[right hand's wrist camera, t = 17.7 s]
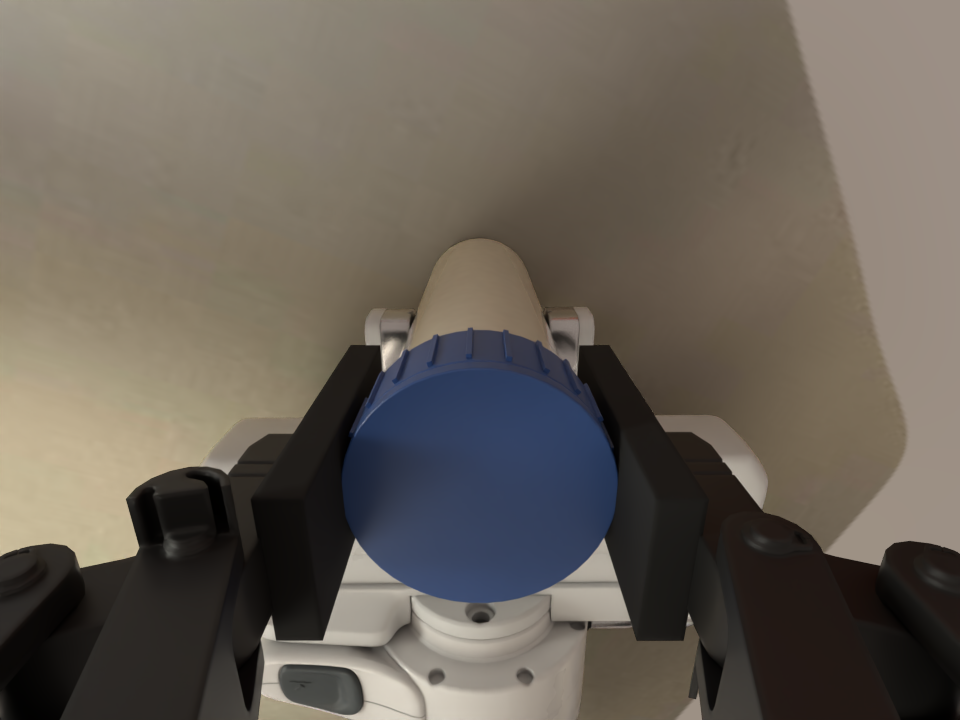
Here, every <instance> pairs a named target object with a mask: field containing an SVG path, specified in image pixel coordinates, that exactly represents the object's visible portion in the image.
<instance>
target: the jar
mask: <svg viewBox="0 0 960 720" xmlns="http://www.w3.org/2000/svg"><path fill="white" fill-rule="evenodd" d="M470 327H473V330H493V331H500V332H503V329H505V330H509V333H510V334H514V335H518V336H521V337H524V338H526V339H529V340H531V341H534V342H536V341H537V340H538V341H540V342H542V345H543V347H545V348H547V349H548V350H550V351H552V352H553V353H554V354H555V355H557V356H558V357H559V358H560V355H559V353H558V350H557V347H556V345H555V342H554V339H553V337H552V334H551V332H550V329H549V326H548V324H547V321H546V319H545V316H544V313H543V311H542V308H541V305H540V303H539V300H538V298H537V295H536V292H535V290H534V287H533V285H532V282H531V279H530V277H529V274H528V272H527V269H526V267H525V265H524V263H523V261H522V260H521V259H520V257H519V256H518V255H517V254H516V253H515V252H514V251H513V250H512V249H510V248H509V247H507V246H506V245H504V244H502V243H500V242H498V241H494V240H491V239H484V238H476V239H469V240H465V241H462V242H460V243H457V244H456V245H454V246H452V247H451V248H449V249H448V250H447V251H446V252H445V253H443V254H442V256H441V257H440V258H439V259H438V261H437V262H436V264H435V266H434V268H433V271H432V273H431V276H430V278H429V281H428V283H427V286H426V289H425V291H424V294H423V296H422V299H421V302H420V304H419V307H418V309H417V312H416V315H415V317H414V320H413V322H412V325H411V328H410V330H409V333H408V335H407V338H406V341H405V343H404V346H403V348H402V351H401V354H400V356H399V358H400V357H401V355H402V352H403V351H404V350H405V349H407V350H408V351H409V350H411V349H412V348H414V347H416V346H418V345H420V344H422V343H423V342H425V341H428V340H430V339H432V338H433V335H435V334H438V335H439V336H441V335H445V334H449V333H453V332H459V331H467V330H468V328H470Z"/></svg>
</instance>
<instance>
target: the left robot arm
mask: <svg viewBox="0 0 960 720" xmlns="http://www.w3.org/2000/svg"><path fill="white" fill-rule="evenodd" d="M544 316H545V319H546V321H547V324H548V326H549V329H550V332H551V334H552V337H553V339H554V342H555V345H556V347H557V350H558V353H559V355H560V358H561V359H562V360H564V359H567V360H568V361H569V363H570V365H571V368H572V370H573V371H574V372H575V374H576V375H577V371H578V356H579V345H594V332H595V326H594V318H593V315H592V313H591V312H590V310H589V309H588V307H545V310H544ZM414 317H415V310H414V309H386V308H377V309H371V311H370V312H369V314H368V315H367V317H366V322H365V341H366V345H380V347H381V361H382V371H383V372H386V371H387V369H388V368H389V367H390V366H391V365H392V364H393V363H394V362H395V361H396V360H398V359H399V356H400V354H401V351H402V348H403V346H404V343H405V341H406V338H407V335H408V333H409V330H410V328H411V325H412V322H413V320H414ZM655 417H656V418H657V420H658V421H659V423H660V424H661V426H662V428H663V429H664V431H665V432H692V433H694V434H695V435H697V436H698V437H700V438H702V439H703V440H705V441H706V442H708V443H709V444H711V445H712V446H713V448H714V449H715V450H716V452H717V453H718V454H719V455H720V457H721V458H722V459H723V460H722V461H723V462H725V463H726V464H727V466H728V467H729V468H730V470H731V471H732V475H735V476H736V477H737V479H738V480H739V481H740V482H741V484H742V485H743V486H744V488H745V489H746V490H747V492H748V493H749V494H750V495H751V497H752V498H753V499H754V501H755V502H756V503H757V504H758V506H759V507H760V508H761V510H762V508H763V504H764V501H765V498H766V493H767V488H768V477H767V473H766V471H765V469H764V467H763V465H762V463H761V462H760V460H759V459H758V457H757V456H756V454H755V453H754V452H753V451H752V449H751V448H750V447H749V446H748V444H747V443H746V442H745V441H744V440H743V439H742V438H741V437H740V436H739V435H738V434H737V433H736V432H735V431H734V430H733V429H732V428H731V427H730V426H729V425H728V424H727V423H726V422H725V421H724V420H722V419H721V418H719V417H717V416H714V415H655ZM302 419H303V418H246V419H242V420H240V421H239V422H237V423H236V424H235V425H234V426H233V427H232V428H231V429H230V430H229V431H228V432H227V433H226V434H225V435H224V436H223V437H222V438H221V439H220V440H219V441H218V442H217V443H216V444H215V445H214V446H213V448H212V449H211V450H210V451H209V453H208V454H207V455H206V456H205V458H204V459H203V461H202V462H201V464H200V465H199V467H204V466H208V467H212V468H217V469H221V470H222V471H223V472H225V473H226V474H227V475H228V473H229V472H230V470H231V469H232V468H233V466H234V465H235V464H237V463H238V462H237V461H238V460H239V459H240V457H241V456H242V455H243V453H244V452H245V451H246V450H247V448H248V447H249V446H250V445H252V444H253V443H255V442H257V441H258V440H260V439H261V438H263V437H264V436H266V435H267V434H293V433H294V432H295V430H296V429H297V427H298V425H299V424H300V422H301V421H302ZM691 625H693V622H692V620H691V617H690V615H689V614H688V619H687V625H686V627H688V626H691ZM631 627H632V624H631V621H630V618H629V615H628V611H627V608H626V605H625V602H624V599H623V596H622V593H621V589H620V586H619V583H618V580H617V577H616V574H615V571H614V567H613V564H612V561H611V558H610V555H609V552H608V548H607V545H606V542H605V539H603V540H602V542H601V543H600V545H599V547H598V548H597V549H596V550H595V552H594V553H593V554H592V555H591V556H590V558H589V559H588V560H587V561H586V562H585V563H584V564H583V565H581V566H580V567H579V568H578V569H577V570H576V571H575V572H573V573H572V574H570V575H569V576H568V577H566V578H565V579H564V580H562V581H560V582H558V583H556V584H555V585H553V586H551V587H549V588H547V589H545V590H542V591H540V592H538V593H535V594H532V595H529V596H526V597H522V598H519V599H514V600H509V601H504V602H493V603H465V602H456V601H450V600H446V599H441V598H437V597H434V596H431V595H428V594H425V593H422V592H419V591H417V590H415V589H413V588H410V587H408V586H406V585H405V584H403V583H401V582H399V581H398V580H396V579H394V578H393V577H392V576H390V575H389V574H388V573H386V572H385V571H384V570H382V569H381V568H380V567H379V566H378V565H377V564H376V563H375V562H374V561H373V560H372V559H371V558H370V557H369V556H368V555H367V554H366V552H365V551H364V550H363V549H362V547H361V546H360V545H359V543H358V541H357V540H356V538H355V541H354V544H353V547H352V551H351V554H350V557H349V560H348V563H347V566H346V569H345V573H344V576H343V579H342V582H341V585H340V588H339V592H338V595H337V598H336V601H335V604H334V607H333V610H332V614H331V617H330V620H329V623H328V626H327V629H326V632H325V636H324V639H323V641H276V638H275V632H274V627H273V621H272V616H271V617H270V619H269V622H268V624H267V626H266V628H265V631H264V633H263V635H262V637H261V643H262V648H263V654H264V661H265V664H264V673H263V681H262V690H261V694H262V695H264V696H266V697H268V698H271V699H274V700H278V701H282V702H286V703H291V704H295V705H300V706H304V707H308V708H312V709H316V710H321V711H324V712H328V713H331V714H335V715H338V716H341V717H345V718H348V719H351V720H577V719H578V715H579V711H580V705H581V697H582V685H583V673H584V661H585V650H586V637H587V631H588V629H589V628H590V629H593V628H594V629H620V628H631Z"/></svg>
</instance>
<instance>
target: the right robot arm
mask: <svg viewBox="0 0 960 720" xmlns="http://www.w3.org/2000/svg"><path fill="white" fill-rule="evenodd" d="M381 371H382V361H381V347H380V345H351V346H350V347H349V349H348V350H347V352H346V353H345V355H344V356H343V358H342V359H341V361H340V362H339V364H338V366H337V367H336V369H335V370H334V372H333V373H332V375H331V376H330V378H329V379H328V381H327V382H326V384H325V386H324V387H323V389H322V390H321V392H320V393H319V395H318V396H317V398H316V399H315V401H314V402H313V404H312V405H311V407H310V409H309V410H308V412H307V413H306V415H305V416H304V418H303V419H302V421H301V422H300V424H299V425H298V427H297V429H296V430H295V432H294V433H293V434H267V435H266V436H264V437H263V438H261V439H260V440H258V441H257V442H255V443H253V444H252V445H250V446H249V447H248V448H247V450H246V451H245V452H244V453H243V455H242V456H241V457H240V459H239V460H238V461H237V462H238V463H237V464H235V465H234V466H233V468H232V469H231V470H230V472H229V473H228V475H227V474H226V473H225V472H223V471H222V470H221V469H217V468H212V467H208V466H204V467H187V468H183V469H178V470H173V471H169V472H167V473H164V474H162V475H159V476H157V477H154V478H151V479H150V480H148V481H147V482H145V483H143V484H142V485H140V486H139V487H137V488H136V489H135V490H134V491H133V492H132V493H131V494H130V495H129V496H128V498H127V499H126V501H127V504H128V508H129V512H130V515H131V519H132V522H133V526H134V529H135V533H136V537H137V540H138V544H139V547H140V548H139V550H138V552H137V555H136V556H133V557H130V558H126V559H122V560H117V561H112V562H108V563H103V564H98V565H93V566H89V567H84V568H80V567H79V564H78V561H77V558H76V555H75V552H73V551H72V550H71V549H70V548H68V547H67V546H65V545H58V544H43V545H36V546H29V547H25V548H21V549H20V550H14V551H11V552H9V553H6V554H4V555H2V556H1V557H0V720H258V715H259V706H260V698H261V690H262V681H263V673H264V664H265V661H264V654H263V648H262V643H261V637H262V635H263V633H264V631H265V628H266V626H267V624H268V622H269V619H270V617H271V616H272V621H273V627H274V632H275V638H276V641H323V639H324V636H325V632H326V629H327V626H328V623H329V620H330V617H331V614H332V610H333V607H334V604H335V601H336V598H337V595H338V592H339V588H340V585H341V582H342V579H343V576H344V573H345V569H346V566H347V563H348V560H349V557H350V554H351V551H352V547H353V544H354V541H355V536H354V535H353V533H352V531H351V529H350V526H349V524H348V522H347V519H346V516H345V508H344V500H343V490H342V479H341V471H342V466H343V461H344V457H345V454H346V451H347V449H348V446H349V444H350V441H351V439H352V438H351V437H348V435H349V432H350V430H351V428H352V426H353V424H354V421H355V419H356V417H357V415H358V413H359V410H360V408H361V406H362V404H363V402H364V400H365V398H369V396H370V393H371V391H372V389H373V387H374V384H375V382H376V380H377V378H378V375H379V373H380V372H381ZM577 376H578V378H579V379H580V381H581V382H582V384H585V383H587V385H588V386H589V388H590V391H591V393H592V395H593V397H594V399H595V402H596V404H597V406H598V408H599V410H600V413H601V415H602V417H603V419H604V420H603V423H604V426H605V428H606V430H607V432H608V435H609V437H610V439H611V441H612V444H613V446H614V452H613V453H614V456H615V459H616V465H617V470H618V486H617V496H616V505H615V513H614V517H613V520H612V523H611V525H610V527H609V529H608V532H607V534H606V536H605V537H604V539H605V542H606V545H607V548H608V552H609V555H610V558H611V561H612V564H613V567H614V571H615V574H616V577H617V580H618V583H619V586H620V589H621V593H622V596H623V599H624V602H625V605H626V608H627V611H628V615H629V618H630V621H631V624H632V627H633V630H634V634H635V637H636V640H637V641H684V636H685V630H686V625H687V619H688V614H689V615H690V617H691V620H692V622H693V624H694V626H695V628H696V631H697V633H698V635H699V637H700V638H699V643H698V648H697V653H696V658H695V663H694V669H693V674H692V679H691V684H690V691H689V698H693V699H696V697H697V692H698V688H699V697H700V705H701V713H702V720H960V554H959V553H958V552H956V551H954V550H951V549H948V548H945V547H941V546H938V545H934V544H929V543H921V542H913V541H906V542H899V543H894V544H893V545H891V546H890V547H889V548H888V549H886V551H885V554H884V557H883V560H882V563H881V566H878V565H873V564H869V563H864V562H859V561H854V560H849V559H844V558H840V557H835V556H832V555H828V554H824V553H823V551H822V549H821V547H820V546H819V545H818V543H817V542H816V541H815V539H814V538H813V537H812V535H810V534H809V533H808V532H806V531H805V530H804V529H802V528H801V527H799V526H798V525H797V524H794V523H792V522H790V521H788V520H786V519H783V518H781V517H779V516H775V515H771V514H767V513H764V512H763V511H762V510H761V508H760V507H759V506H758V504H757V503H756V502H755V501H754V499H753V498H752V497H751V495H750V494H749V493H748V492H747V490H746V489H745V488H744V486H743V485H742V484H741V482H740V481H739V480H738V479H737V477H736V476H735V475H732V471H731V470H730V468H729V467H728V466H727V464H726V463H725V462H723V461H722V460H723V459H722V458H721V457H720V455H719V454H718V453H717V452H716V450H715V449H714V448H713V446H712V445H711V444H709V443H708V442H706V441H705V440H703V439H702V438H700V437H698V436H697V435H695V434H694V433H692V432H665V431H664V429H663V428H662V426H661V424H660V423H659V421H658V420H657V418H656V417H655V415H654V414H653V412H652V411H651V409H650V408H649V406H648V405H647V403H646V401H645V400H644V398H643V397H642V395H641V394H640V392H639V391H638V389H637V388H636V386H635V385H634V383H633V381H632V380H631V378H630V377H629V375H628V374H627V372H626V371H625V369H624V368H623V366H622V365H621V363H620V361H619V360H618V358H617V357H616V355H615V354H614V352H613V351H612V349H611V348H610V346H609V345H579V356H578V371H577Z"/></svg>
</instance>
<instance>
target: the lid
mask: <svg viewBox="0 0 960 720" xmlns="http://www.w3.org/2000/svg"><path fill="white" fill-rule="evenodd" d="M603 420H604V419H603V417H602V415H601V413H600V410H599V408H598V406H597V404H596V402H595V399H594V397H593V395H592V393H591V391H590V388H589V386H588V385H587V383H585V384H582V382H581V381H580V379H579V378H578V376H577V375H576V374H575V372H574V371H573V370H572V368H571V365H570V363H569V361H568V360H567V359H564V360H562V359H561V358H559V357H558V356H557V355H555V354H554V353H553V352H552V351H550V350H548V349H547V348H545V347H543V345H542V342H540V341H538V340H537V341H536V342H534V341H531V340H529V339H526V338H524V337H521V336H518V335H514V334H510V333H509V330H505V329H503V332H500V331H493V330H473V327H470V328H468V330H467V331H459V332H453V333H449V334H445V335H441V336H439V335H438V334H435V335H433V338H432V339H430V340H428V341H425V342H423V343H422V344H420V345H418V346H416V347H414V348H412V349H411V350H409V351H408V350H407V349H405V350H404V351H403V352H402V355H401V357H400V358H399V359H398V360H396V361H395V362H394V363H393V364H392V365H391V366H390V367H389V368H388V369H387V371H386V372H383V371H381V372H380V373H379V375H378V378H377V380H376V382H375V384H374V387H373V389H372V391H371V393H370V396H369V398H365V400H364V402H363V404H362V406H361V408H360V410H359V413H358V415H357V417H356V419H355V421H354V424H353V426H352V428H351V430H350V432H349V435H348V437H351V438H352V439H351V441H350V444H349V446H348V449H347V451H346V454H345V457H344V461H343V466H342V471H341V479H342V490H343V500H344V508H345V516H346V519H347V522H348V524H349V526H350V529H351V531H352V533H353V535H354V536H355V538H356V540H357V541H358V543H359V545H360V546H361V547H362V549H363V550H364V551H365V552H366V554H367V555H368V556H369V557H370V558H371V559H372V560H373V561H374V562H375V563H376V564H377V565H378V566H379V567H380V568H381V569H382V570H384V571H385V572H386V573H388V574H389V575H390V576H392V577H393V578H394V579H396V580H398V581H399V582H401V583H403V584H405V585H406V586H408V587H410V588H413V589H415V590H417V591H419V592H422V593H425V594H428V595H431V596H434V597H437V598H441V599H446V600H450V601H456V602H465V603H493V602H504V601H509V600H514V599H519V598H522V597H526V596H529V595H532V594H535V593H538V592H540V591H542V590H545V589H547V588H549V587H551V586H553V585H555V584H556V583H558V582H560V581H562V580H564V579H565V578H566V577H568V576H569V575H570V574H572V573H573V572H575V571H576V570H577V569H578V568H579V567H580V566H581V565H583V564H584V563H585V562H586V561H587V560H588V559H589V558H590V556H591V555H592V554H593V553H594V552H595V550H596V549H597V548H598V547H599V545H600V543H601V542H602V540H603V539H604V537H605V536H606V534H607V532H608V529H609V527H610V525H611V523H612V520H613V517H614V513H615V505H616V496H617V486H618V470H617V465H616V459H615V456H614V453H613V452H614V446H613V444H612V441H611V439H610V437H609V435H608V432H607V430H606V428H605V426H604V423H603Z"/></svg>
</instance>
